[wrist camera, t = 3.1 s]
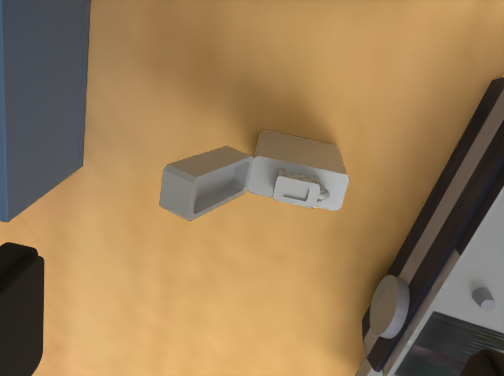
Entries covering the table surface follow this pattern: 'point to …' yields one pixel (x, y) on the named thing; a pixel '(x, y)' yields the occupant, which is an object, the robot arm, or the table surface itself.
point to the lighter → (257, 176)
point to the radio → (447, 265)
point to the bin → (41, 97)
